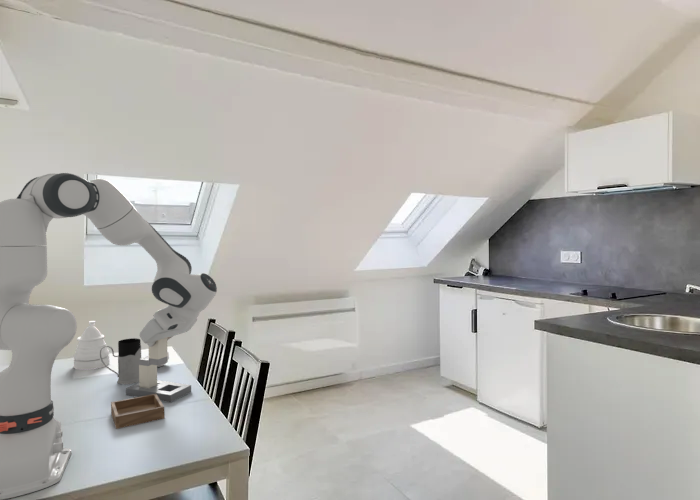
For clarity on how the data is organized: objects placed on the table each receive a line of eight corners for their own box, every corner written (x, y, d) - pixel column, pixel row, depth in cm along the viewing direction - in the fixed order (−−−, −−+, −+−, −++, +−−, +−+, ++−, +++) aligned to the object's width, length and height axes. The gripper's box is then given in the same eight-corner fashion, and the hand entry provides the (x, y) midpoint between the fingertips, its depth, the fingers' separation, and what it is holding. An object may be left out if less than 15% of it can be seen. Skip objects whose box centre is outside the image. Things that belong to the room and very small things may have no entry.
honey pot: (78, 362, 192) (77, 320, 191) (112, 359, 196) (111, 318, 195) (70, 371, 180) (68, 326, 179) (106, 368, 184) (104, 324, 183)
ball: (154, 372, 187) (146, 355, 189) (173, 363, 190) (165, 346, 192) (151, 368, 180) (143, 351, 182) (171, 359, 183) (163, 341, 186)
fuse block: (191, 392, 157) (191, 385, 157) (170, 402, 147) (170, 395, 147) (148, 385, 163) (148, 378, 163) (125, 395, 154) (125, 388, 154)
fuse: (157, 390, 158) (156, 357, 158) (148, 394, 154) (148, 360, 154) (148, 389, 159) (147, 356, 159) (139, 393, 156) (138, 359, 155)
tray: (164, 418, 135) (164, 406, 135) (116, 428, 128) (115, 416, 128) (156, 404, 146) (156, 393, 146) (111, 413, 139) (110, 402, 139)
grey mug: (142, 382, 167) (141, 342, 166) (98, 387, 161) (97, 346, 161) (143, 375, 175) (142, 337, 174) (102, 379, 169) (101, 340, 169)
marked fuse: (167, 362, 149) (167, 326, 148) (158, 365, 145) (158, 328, 145) (157, 361, 150) (157, 325, 150) (148, 364, 146) (148, 327, 146)
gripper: (196, 303, 154) (173, 329, 158) (151, 312, 135) (126, 342, 139) (207, 317, 153) (183, 343, 157) (163, 328, 134) (137, 358, 137)
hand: (156, 343), depth 148 cm, fingers closed on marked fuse, 4 cm apart
